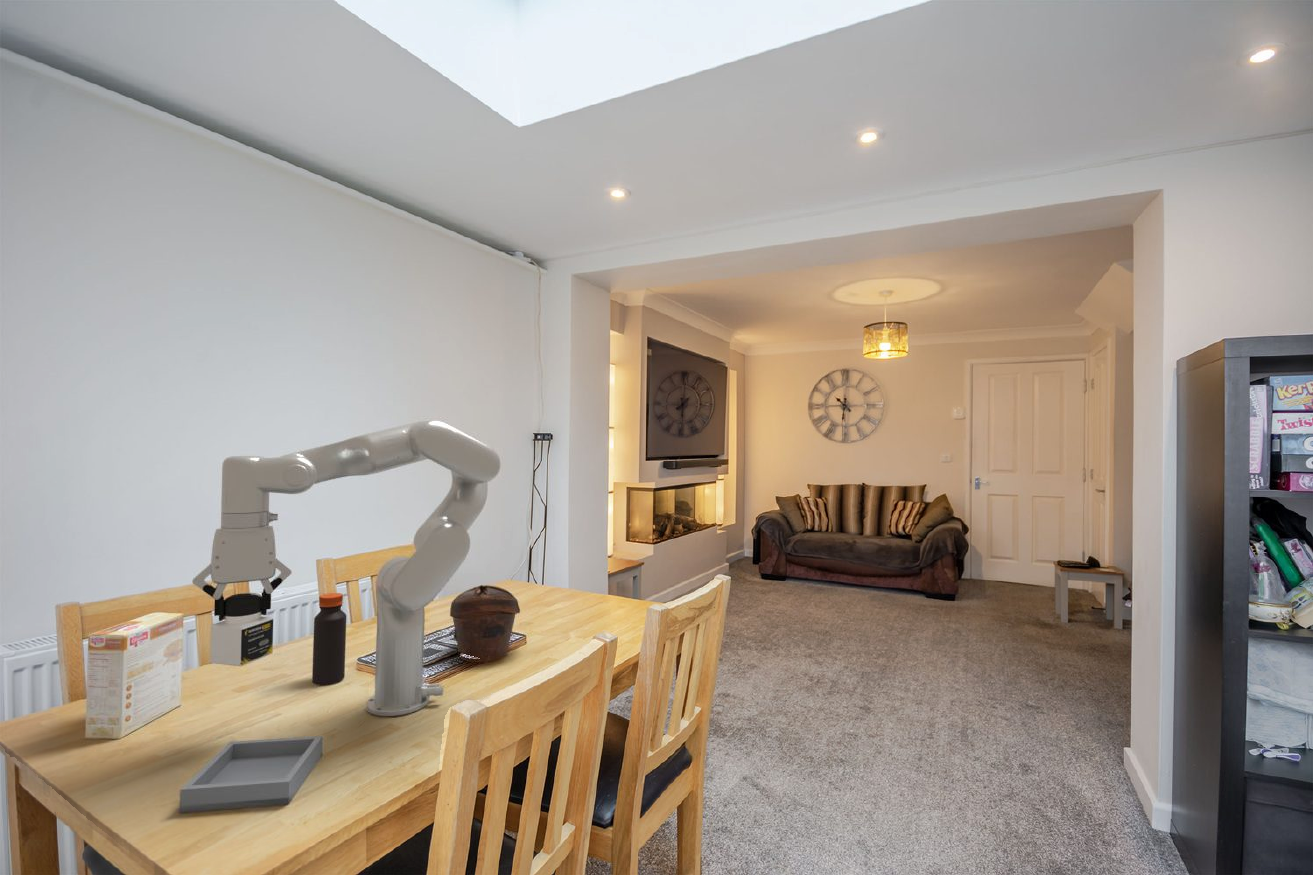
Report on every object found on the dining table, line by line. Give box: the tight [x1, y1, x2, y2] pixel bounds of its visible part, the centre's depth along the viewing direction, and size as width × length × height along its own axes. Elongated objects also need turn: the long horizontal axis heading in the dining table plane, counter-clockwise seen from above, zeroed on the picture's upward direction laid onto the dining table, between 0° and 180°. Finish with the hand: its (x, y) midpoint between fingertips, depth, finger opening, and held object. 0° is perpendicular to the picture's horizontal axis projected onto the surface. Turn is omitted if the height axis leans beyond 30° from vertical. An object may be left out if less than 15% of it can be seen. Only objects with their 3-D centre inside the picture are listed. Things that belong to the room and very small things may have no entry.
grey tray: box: [178, 735, 324, 814], centre depth 100 cm, size 15×15×4 cm
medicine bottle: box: [209, 592, 274, 667], centre depth 114 cm, size 7×7×12 cm
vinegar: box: [311, 592, 347, 686], centre depth 142 cm, size 7×7×20 cm
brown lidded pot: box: [449, 584, 521, 663], centre depth 163 cm, size 18×20×18 cm
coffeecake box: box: [84, 612, 185, 740], centre depth 120 cm, size 15×7×20 cm, turn 1°
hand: (242, 615), depth 114 cm, fingers closed on medicine bottle, 6 cm apart
